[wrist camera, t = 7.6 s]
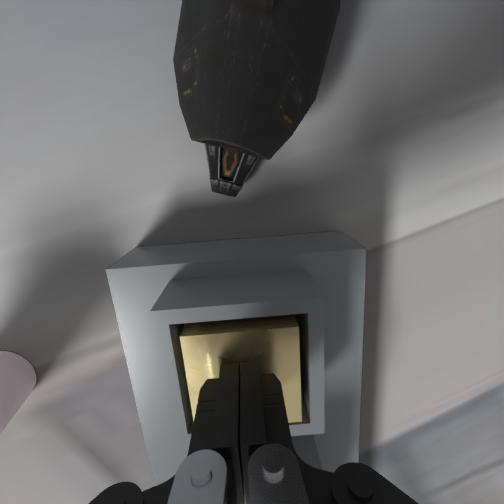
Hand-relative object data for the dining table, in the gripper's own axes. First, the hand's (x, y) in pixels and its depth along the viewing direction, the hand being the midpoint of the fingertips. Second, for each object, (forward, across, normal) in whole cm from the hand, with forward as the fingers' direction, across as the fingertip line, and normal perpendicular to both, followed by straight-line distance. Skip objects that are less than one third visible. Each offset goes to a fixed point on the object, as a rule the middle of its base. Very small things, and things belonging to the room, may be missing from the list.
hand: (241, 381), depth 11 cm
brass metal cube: (+3, 0, 0) cm, 3 cm away
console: (+7, 0, +9) cm, 12 cm away
